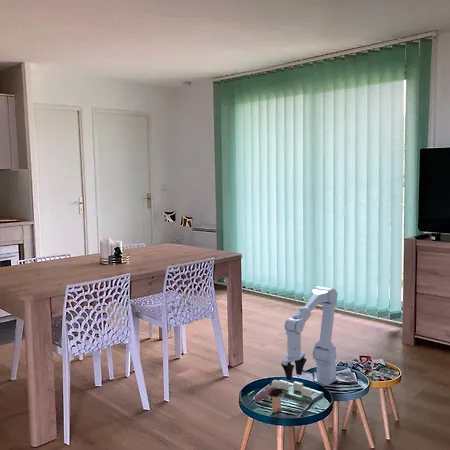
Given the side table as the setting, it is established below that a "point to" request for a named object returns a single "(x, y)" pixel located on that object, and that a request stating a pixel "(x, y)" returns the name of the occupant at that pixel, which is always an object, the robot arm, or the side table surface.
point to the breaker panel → (298, 395)
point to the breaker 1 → (283, 384)
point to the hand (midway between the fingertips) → (294, 377)
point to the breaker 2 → (306, 391)
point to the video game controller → (264, 393)
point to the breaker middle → (297, 386)
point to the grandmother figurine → (276, 396)
